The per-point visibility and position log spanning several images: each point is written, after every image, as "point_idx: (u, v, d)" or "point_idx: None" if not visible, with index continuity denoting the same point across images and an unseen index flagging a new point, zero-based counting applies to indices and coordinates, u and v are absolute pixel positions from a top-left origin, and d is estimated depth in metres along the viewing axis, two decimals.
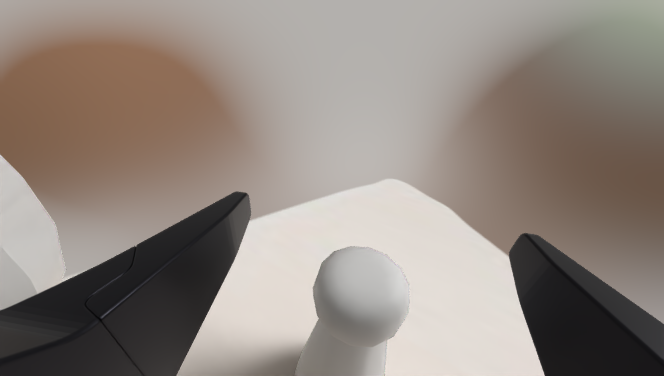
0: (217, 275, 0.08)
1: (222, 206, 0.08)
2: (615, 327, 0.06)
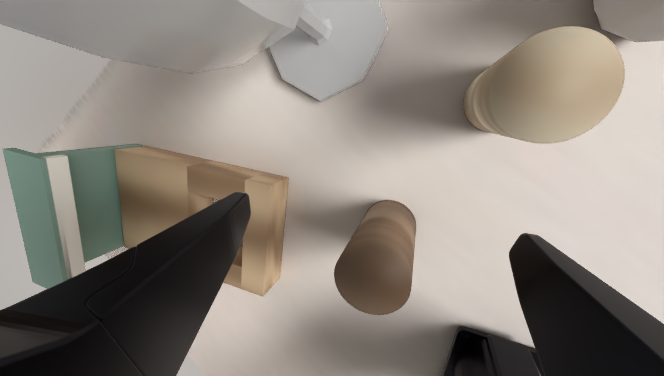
0: (217, 275, 0.08)
1: (222, 206, 0.08)
2: (615, 327, 0.06)
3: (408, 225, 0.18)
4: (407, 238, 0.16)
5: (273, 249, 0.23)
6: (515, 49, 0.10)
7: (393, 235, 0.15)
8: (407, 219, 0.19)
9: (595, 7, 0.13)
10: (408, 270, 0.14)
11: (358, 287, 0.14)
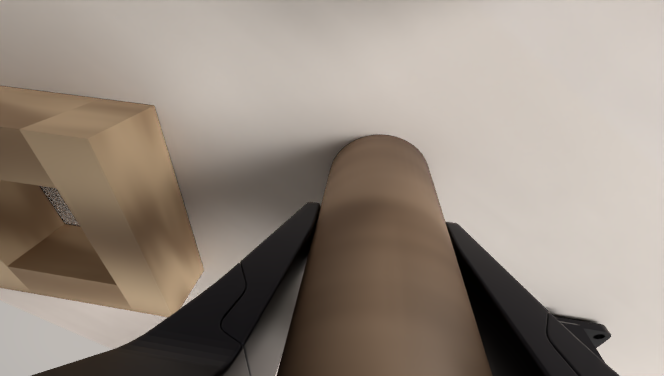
0: None
1: (303, 218, 0.08)
2: (494, 307, 0.06)
3: (434, 200, 0.08)
4: (450, 253, 0.06)
5: (168, 246, 0.13)
6: None
7: (428, 275, 0.05)
8: (426, 182, 0.08)
9: None
10: None
11: None
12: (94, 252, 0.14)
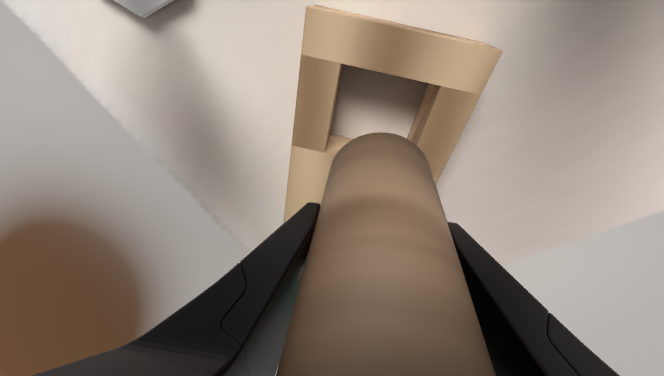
0: None
1: (303, 218, 0.08)
2: (494, 307, 0.06)
3: (435, 198, 0.08)
4: (452, 251, 0.06)
5: (421, 30, 0.15)
6: None
7: (430, 272, 0.05)
8: (427, 179, 0.08)
9: None
10: None
11: None
12: (420, 118, 0.18)
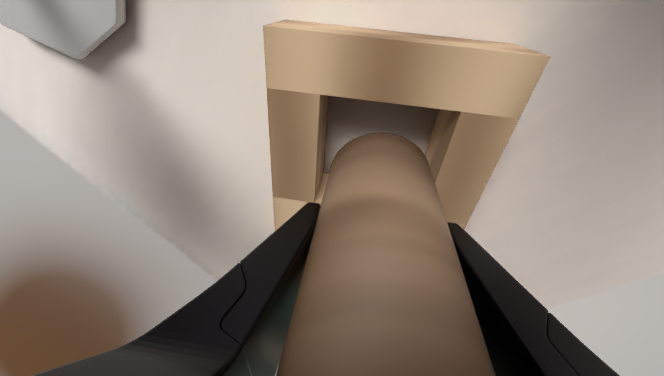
0: None
1: (303, 218, 0.08)
2: (494, 307, 0.06)
3: (435, 199, 0.08)
4: (452, 251, 0.06)
5: (426, 39, 0.11)
6: None
7: (431, 273, 0.05)
8: (427, 180, 0.08)
9: None
10: None
11: None
12: (435, 150, 0.13)
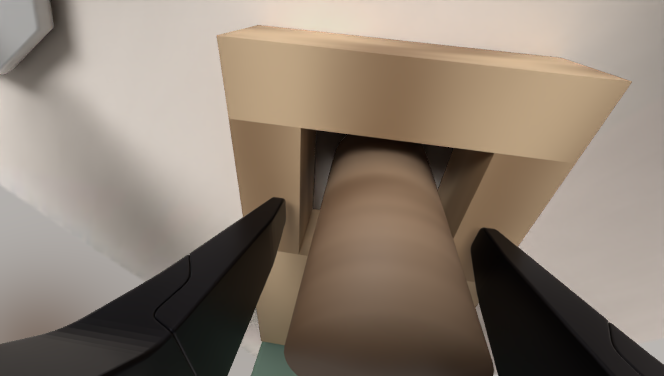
0: (259, 282, 0.08)
1: (264, 212, 0.08)
2: (552, 317, 0.06)
3: (430, 179, 0.09)
4: (443, 221, 0.07)
5: (447, 53, 0.08)
6: None
7: (423, 234, 0.06)
8: (423, 163, 0.09)
9: None
10: (487, 349, 0.05)
11: None
12: (452, 191, 0.10)
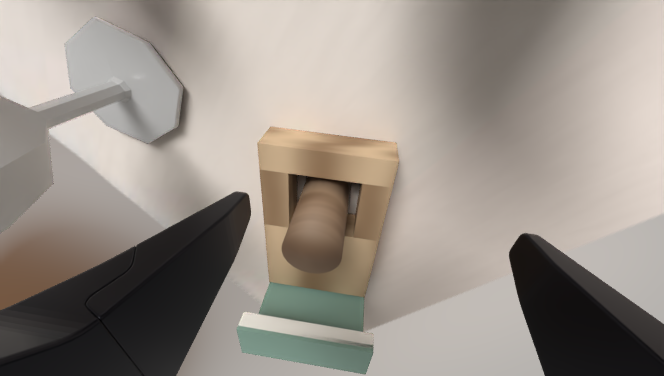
0: (217, 275, 0.08)
1: (222, 206, 0.08)
2: (615, 327, 0.06)
3: (341, 193, 0.21)
4: (339, 209, 0.19)
5: (343, 146, 0.20)
6: None
7: (326, 213, 0.18)
8: (341, 186, 0.22)
9: None
10: (338, 243, 0.17)
11: (302, 258, 0.18)
12: None
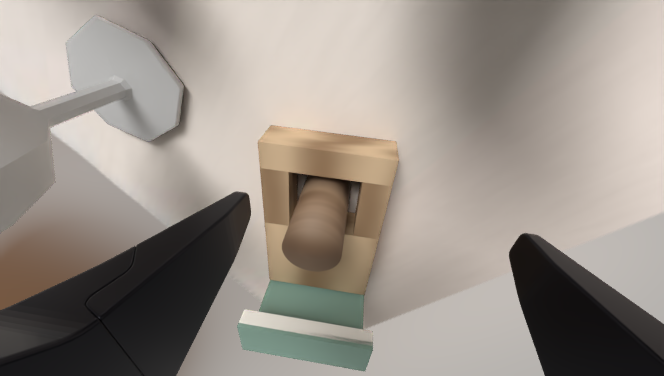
0: (217, 275, 0.08)
1: (222, 206, 0.08)
2: (615, 327, 0.06)
3: (341, 191, 0.21)
4: (339, 208, 0.20)
5: (343, 144, 0.20)
6: None
7: (326, 211, 0.18)
8: (341, 184, 0.22)
9: None
10: (338, 242, 0.17)
11: (302, 256, 0.18)
12: None
